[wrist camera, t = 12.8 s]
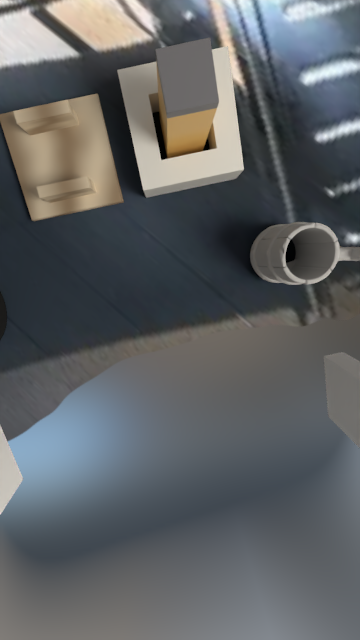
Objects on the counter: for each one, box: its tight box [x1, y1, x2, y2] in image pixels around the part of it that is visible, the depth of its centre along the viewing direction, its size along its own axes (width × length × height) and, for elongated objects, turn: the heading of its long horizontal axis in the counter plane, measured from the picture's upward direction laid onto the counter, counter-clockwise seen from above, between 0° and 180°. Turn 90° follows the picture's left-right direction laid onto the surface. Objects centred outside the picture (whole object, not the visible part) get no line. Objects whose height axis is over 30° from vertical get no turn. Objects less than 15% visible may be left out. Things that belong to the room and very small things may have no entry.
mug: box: [250, 222, 360, 285], centre depth 32 cm, size 8×12×12 cm, turn 91°
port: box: [117, 46, 244, 198], centre depth 32 cm, size 12×12×4 cm
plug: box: [155, 38, 219, 159], centre depth 28 cm, size 4×4×12 cm
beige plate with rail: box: [0, 94, 124, 221], centre depth 32 cm, size 12×12×4 cm
